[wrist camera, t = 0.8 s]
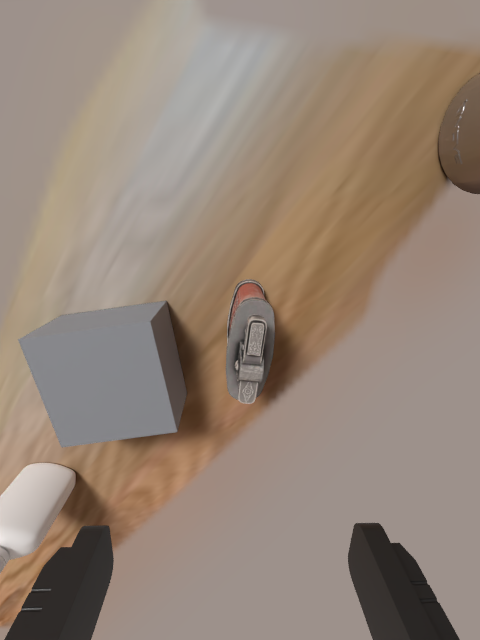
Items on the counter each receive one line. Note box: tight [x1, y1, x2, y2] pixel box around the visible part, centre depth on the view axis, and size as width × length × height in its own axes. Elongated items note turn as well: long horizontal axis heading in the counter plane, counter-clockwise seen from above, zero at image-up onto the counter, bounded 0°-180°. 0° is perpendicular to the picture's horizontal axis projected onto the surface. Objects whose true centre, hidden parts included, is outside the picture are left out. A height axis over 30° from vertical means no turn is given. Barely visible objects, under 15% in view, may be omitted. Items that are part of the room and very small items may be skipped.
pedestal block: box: [18, 301, 187, 447], centre depth 27 cm, size 10×10×6 cm
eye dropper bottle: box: [0, 463, 76, 573], centre depth 28 cm, size 4×6×12 cm
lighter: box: [226, 279, 275, 404], centre depth 24 cm, size 8×3×10 cm, turn 173°
